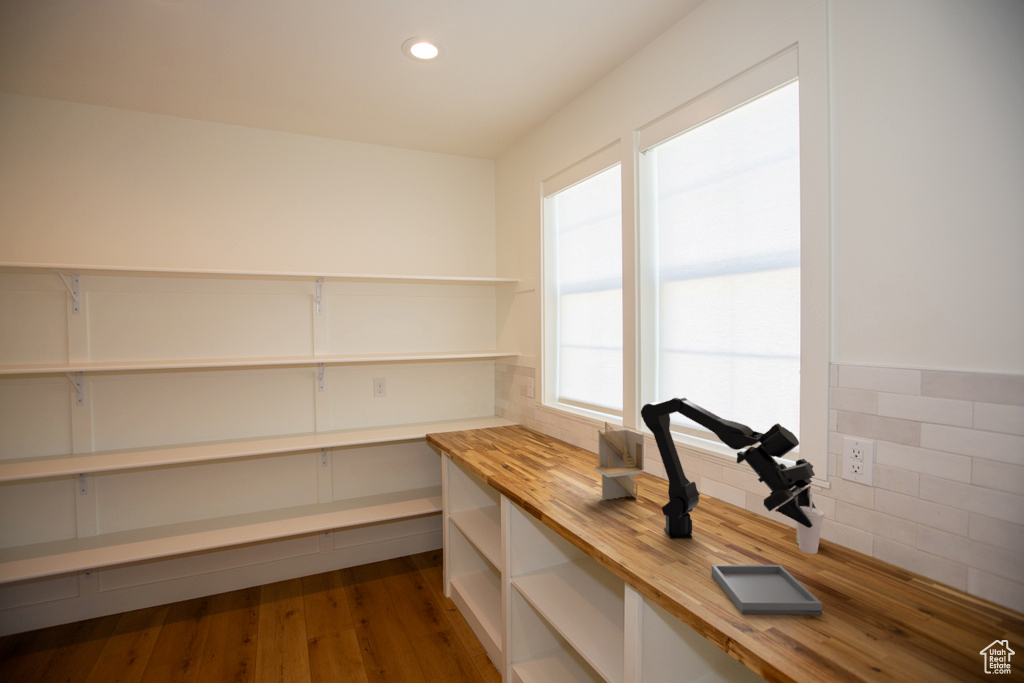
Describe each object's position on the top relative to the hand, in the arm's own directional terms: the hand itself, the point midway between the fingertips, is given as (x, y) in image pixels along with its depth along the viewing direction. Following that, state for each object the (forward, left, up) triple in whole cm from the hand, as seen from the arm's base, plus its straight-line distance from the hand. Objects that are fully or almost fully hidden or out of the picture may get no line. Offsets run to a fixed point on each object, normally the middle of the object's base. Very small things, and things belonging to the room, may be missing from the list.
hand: (815, 522), depth 116 cm
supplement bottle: (+9, +19, -13) cm, 25 cm away
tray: (-16, -7, -13) cm, 22 cm away
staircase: (-35, +51, -14) cm, 64 cm away
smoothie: (-1, +1, -7) cm, 7 cm away
